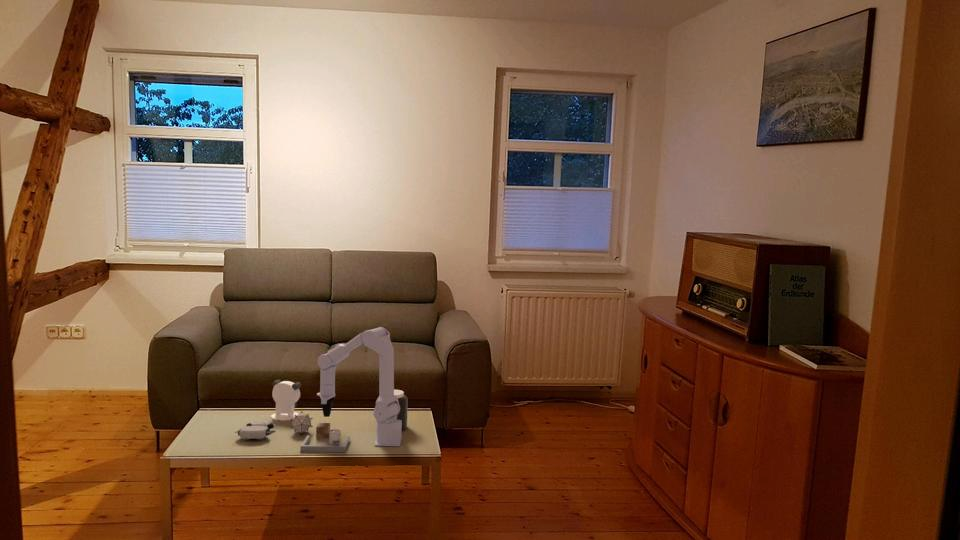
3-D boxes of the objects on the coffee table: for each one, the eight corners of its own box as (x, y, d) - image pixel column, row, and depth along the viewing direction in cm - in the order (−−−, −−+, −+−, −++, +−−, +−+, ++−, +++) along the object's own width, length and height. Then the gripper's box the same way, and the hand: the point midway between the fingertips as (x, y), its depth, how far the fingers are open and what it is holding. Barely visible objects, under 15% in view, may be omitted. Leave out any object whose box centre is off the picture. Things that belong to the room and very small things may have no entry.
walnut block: (330, 434, 239) (330, 423, 239) (327, 438, 235) (328, 427, 235) (318, 433, 239) (318, 422, 239) (316, 438, 235) (316, 426, 234)
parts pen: (349, 441, 233) (349, 435, 233) (344, 452, 222) (345, 446, 222) (307, 440, 232) (307, 435, 232) (300, 451, 221) (300, 446, 221)
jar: (404, 433, 243) (405, 397, 241) (375, 432, 243) (376, 395, 241) (408, 423, 254) (409, 388, 253) (380, 422, 255) (381, 387, 253)
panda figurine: (305, 413, 262) (306, 379, 260) (291, 422, 251) (291, 386, 250) (280, 410, 265) (281, 376, 263) (265, 418, 254) (265, 383, 252)
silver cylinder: (340, 444, 229) (340, 429, 228) (339, 448, 225) (340, 433, 224) (329, 444, 228) (330, 429, 228) (328, 449, 224) (328, 433, 224)
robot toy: (245, 431, 241) (233, 442, 226) (245, 420, 241) (234, 430, 226) (277, 431, 242) (267, 442, 228) (277, 420, 242) (267, 430, 227)
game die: (298, 443, 238) (284, 427, 233) (298, 429, 245) (284, 412, 240) (318, 433, 238) (304, 416, 233) (318, 418, 245) (305, 402, 240)
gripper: (321, 377, 250) (320, 410, 251) (313, 387, 235) (312, 422, 236) (338, 378, 250) (337, 410, 251) (331, 388, 236) (331, 422, 237)
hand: (326, 416), depth 244 cm, fingers closed
